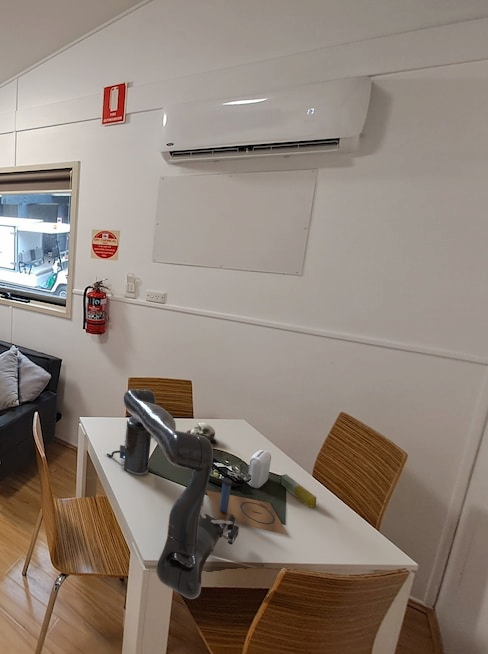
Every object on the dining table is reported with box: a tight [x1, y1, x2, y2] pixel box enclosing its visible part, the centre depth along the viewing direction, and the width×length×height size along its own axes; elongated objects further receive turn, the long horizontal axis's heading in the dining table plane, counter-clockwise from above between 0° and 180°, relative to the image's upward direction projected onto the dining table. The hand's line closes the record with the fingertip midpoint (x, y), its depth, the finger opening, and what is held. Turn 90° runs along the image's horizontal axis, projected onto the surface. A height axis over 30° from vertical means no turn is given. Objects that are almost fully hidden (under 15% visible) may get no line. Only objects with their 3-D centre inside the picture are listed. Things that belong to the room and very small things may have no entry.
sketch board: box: [206, 489, 289, 536], centre depth 129 cm, size 20×16×1 cm
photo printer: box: [246, 449, 272, 489], centre depth 141 cm, size 10×4×12 cm, turn 123°
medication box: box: [280, 474, 318, 509], centre depth 135 cm, size 12×3×4 cm, turn 6°
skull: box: [186, 422, 218, 447], centre depth 169 cm, size 12×10×10 cm
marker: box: [219, 477, 233, 514], centre depth 126 cm, size 3×3×12 cm
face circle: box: [240, 502, 275, 524], centre depth 127 cm, size 9×9×1 cm
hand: (216, 508), depth 120 cm, fingers open, 8 cm apart
